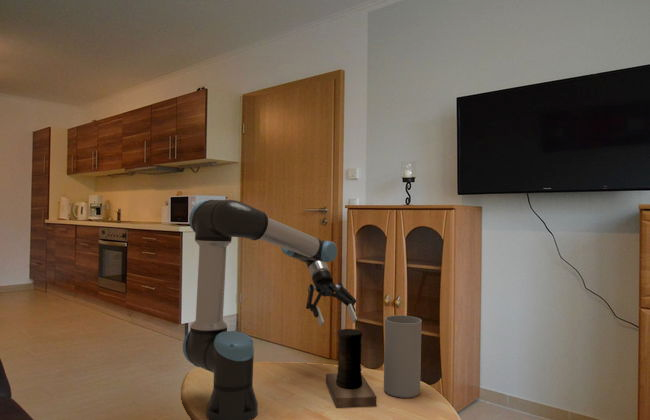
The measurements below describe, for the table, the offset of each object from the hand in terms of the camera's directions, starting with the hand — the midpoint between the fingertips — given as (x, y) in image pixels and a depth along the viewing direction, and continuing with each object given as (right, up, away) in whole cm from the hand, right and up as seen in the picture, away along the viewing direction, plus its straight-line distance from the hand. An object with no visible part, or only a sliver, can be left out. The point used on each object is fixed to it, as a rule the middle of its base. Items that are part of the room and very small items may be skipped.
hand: (338, 322), depth 163 cm
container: (+3, -19, -8) cm, 21 cm away
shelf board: (+3, -22, -8) cm, 24 cm away
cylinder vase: (+22, -23, -5) cm, 32 cm away
